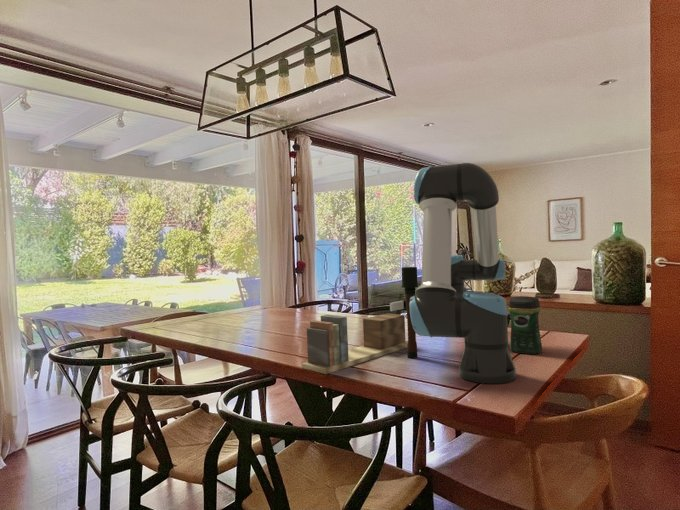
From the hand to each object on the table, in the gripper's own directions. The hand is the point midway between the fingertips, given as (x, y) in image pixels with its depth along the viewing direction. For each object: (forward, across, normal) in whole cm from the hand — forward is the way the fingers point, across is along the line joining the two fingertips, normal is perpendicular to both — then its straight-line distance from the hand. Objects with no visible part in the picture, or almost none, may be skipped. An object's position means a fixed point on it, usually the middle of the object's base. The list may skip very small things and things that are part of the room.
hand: (402, 308), depth 144 cm
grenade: (-5, 0, -17) cm, 18 cm away
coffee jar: (-33, -26, -17) cm, 45 cm away
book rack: (+4, +15, -17) cm, 23 cm away
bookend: (-9, +15, -16) cm, 24 cm away
